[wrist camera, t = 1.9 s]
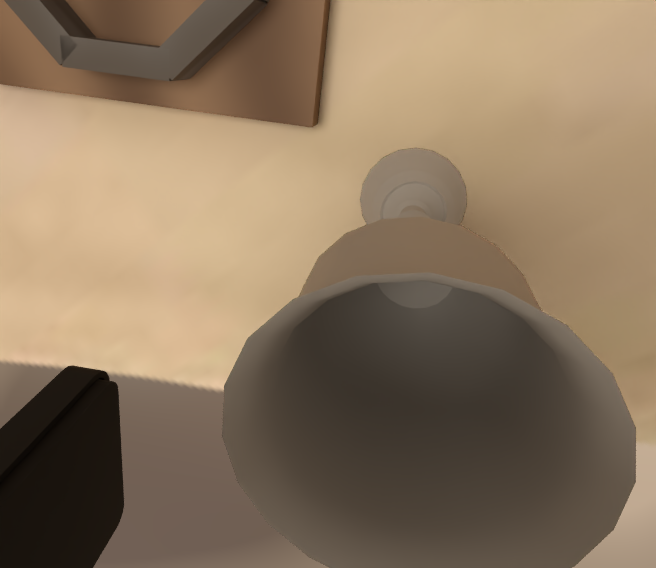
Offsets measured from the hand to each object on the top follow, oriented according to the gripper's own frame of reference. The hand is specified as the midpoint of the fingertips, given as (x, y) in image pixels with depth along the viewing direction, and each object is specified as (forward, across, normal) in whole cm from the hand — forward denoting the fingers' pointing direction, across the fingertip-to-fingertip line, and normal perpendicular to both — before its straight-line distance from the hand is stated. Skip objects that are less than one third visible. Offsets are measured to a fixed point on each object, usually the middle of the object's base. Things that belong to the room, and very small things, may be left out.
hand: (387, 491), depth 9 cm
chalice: (+19, -1, 0) cm, 19 cm away
